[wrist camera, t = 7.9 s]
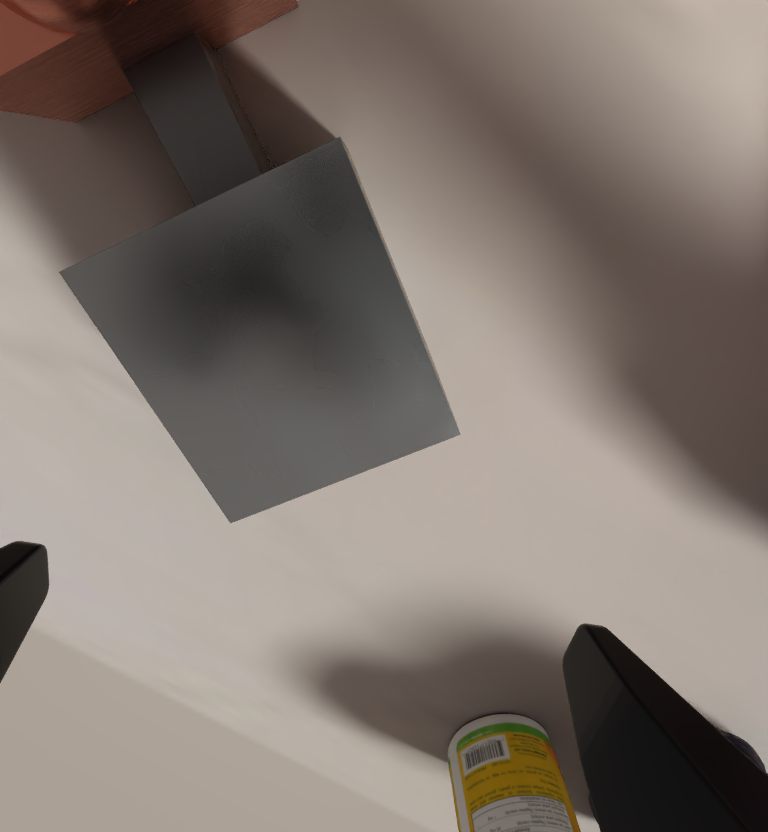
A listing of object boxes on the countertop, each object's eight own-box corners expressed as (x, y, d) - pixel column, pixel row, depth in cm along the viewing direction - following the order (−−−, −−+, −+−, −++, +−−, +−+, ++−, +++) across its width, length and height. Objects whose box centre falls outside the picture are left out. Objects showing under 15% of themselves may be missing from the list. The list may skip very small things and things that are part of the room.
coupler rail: (430, 340, 18) (467, 430, 12) (249, 415, 19) (195, 533, 13) (240, -141, 13) (126, -432, 7) (0, -4, 14) (-296, -146, 7)
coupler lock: (433, 361, 18) (463, 442, 13) (270, 428, 19) (235, 530, 14) (347, 148, 15) (339, 137, 10) (159, 237, 16) (59, 271, 11)
